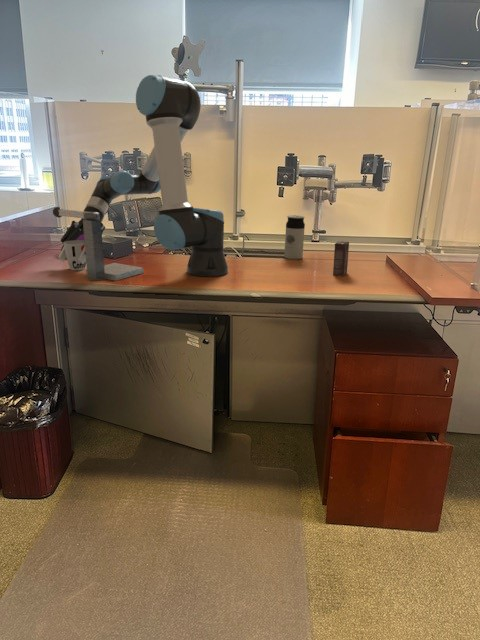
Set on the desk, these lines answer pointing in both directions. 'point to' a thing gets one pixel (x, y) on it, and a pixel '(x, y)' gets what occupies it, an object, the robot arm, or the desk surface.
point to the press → (95, 256)
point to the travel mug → (294, 237)
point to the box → (341, 258)
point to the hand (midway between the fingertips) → (70, 260)
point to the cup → (74, 254)
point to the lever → (75, 214)
